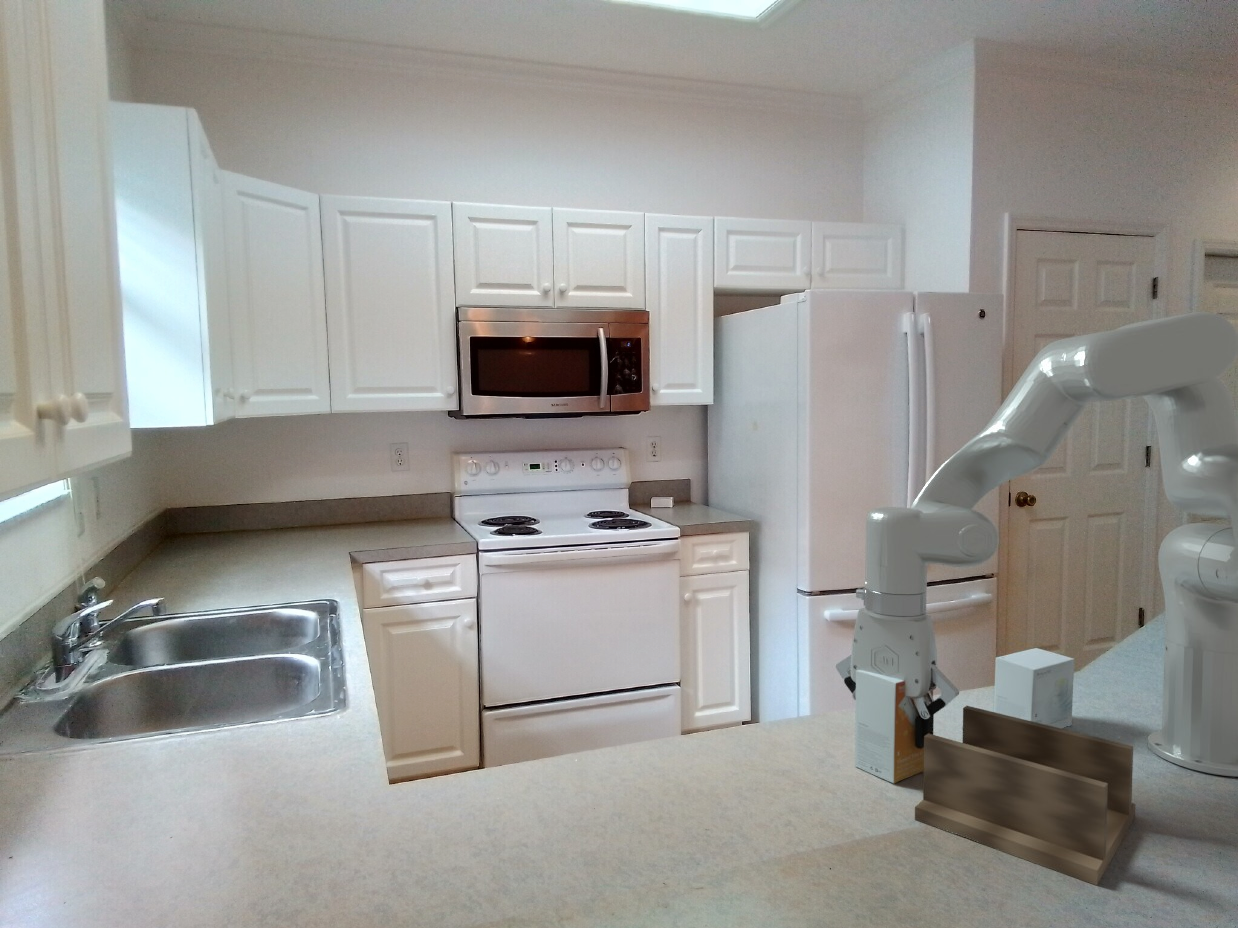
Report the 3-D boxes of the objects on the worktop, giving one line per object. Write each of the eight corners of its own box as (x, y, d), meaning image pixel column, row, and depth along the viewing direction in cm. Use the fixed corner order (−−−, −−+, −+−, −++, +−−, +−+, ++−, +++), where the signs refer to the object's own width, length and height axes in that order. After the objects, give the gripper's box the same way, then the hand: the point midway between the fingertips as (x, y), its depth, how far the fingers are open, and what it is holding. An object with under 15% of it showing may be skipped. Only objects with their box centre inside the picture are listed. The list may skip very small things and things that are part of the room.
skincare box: (1033, 740, 108) (1034, 668, 108) (991, 725, 114) (992, 656, 113) (1074, 726, 113) (1076, 656, 113) (1032, 712, 119) (1034, 646, 118)
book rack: (914, 819, 87) (915, 742, 86) (971, 768, 99) (973, 700, 99) (1096, 885, 74) (1099, 795, 74) (1135, 816, 87) (1137, 739, 86)
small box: (894, 785, 95) (895, 682, 94) (853, 766, 100) (854, 669, 99) (933, 768, 99) (934, 671, 99) (892, 751, 105) (893, 658, 104)
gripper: (820, 597, 102) (819, 726, 103) (952, 619, 90) (950, 766, 91) (847, 588, 107) (846, 711, 108) (975, 608, 95) (972, 747, 96)
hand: (893, 735), depth 99 cm, fingers closed on small box, 7 cm apart
